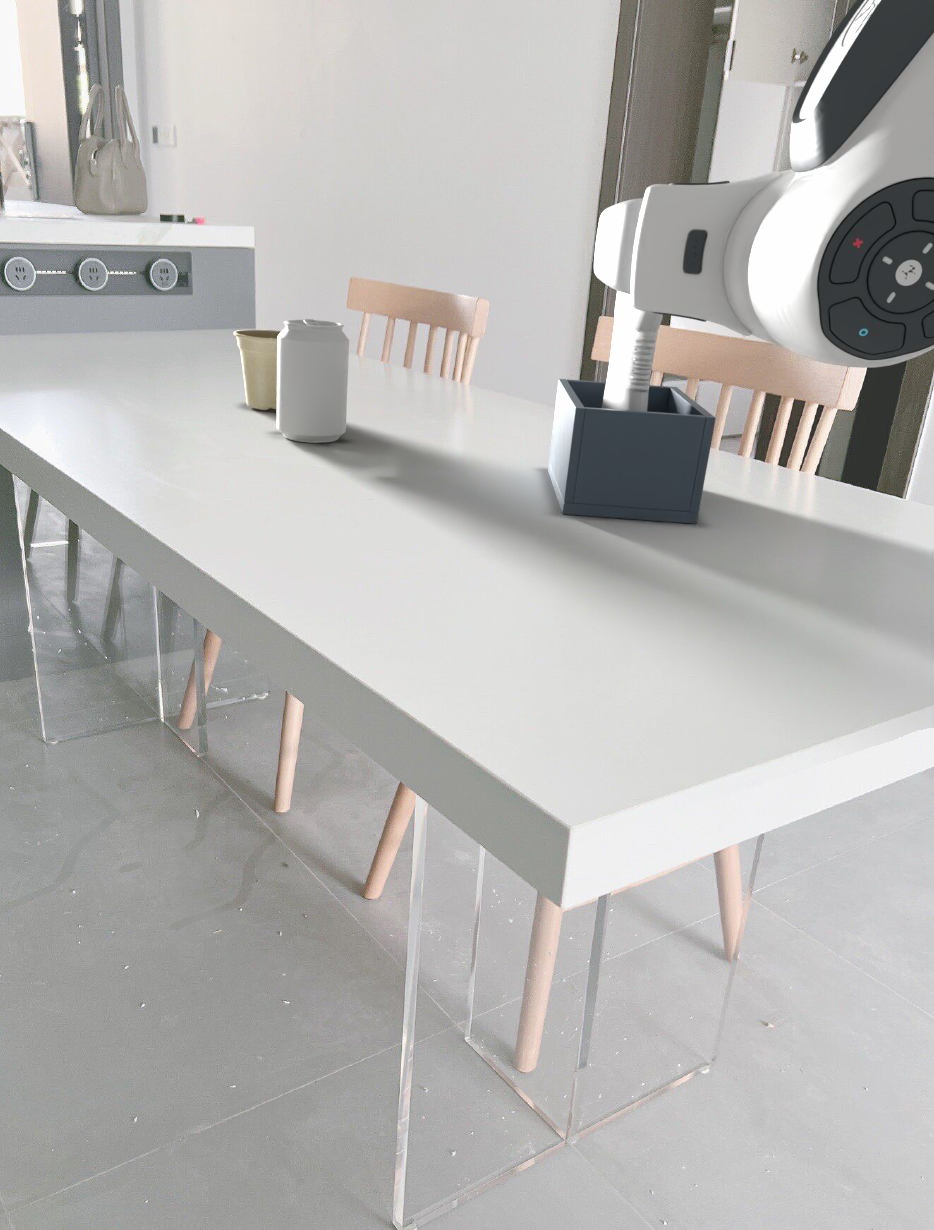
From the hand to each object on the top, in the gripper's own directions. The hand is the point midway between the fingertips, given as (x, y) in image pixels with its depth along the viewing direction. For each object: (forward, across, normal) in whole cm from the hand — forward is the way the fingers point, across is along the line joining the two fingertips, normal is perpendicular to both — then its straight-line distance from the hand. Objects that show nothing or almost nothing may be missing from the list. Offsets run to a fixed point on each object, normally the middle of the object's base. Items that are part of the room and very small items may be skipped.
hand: (739, 250), depth 70 cm
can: (+39, +33, +22) cm, 56 cm away
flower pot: (+56, +40, +22) cm, 73 cm away
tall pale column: (+23, +2, +21) cm, 31 cm away
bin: (+22, +2, +22) cm, 31 cm away
